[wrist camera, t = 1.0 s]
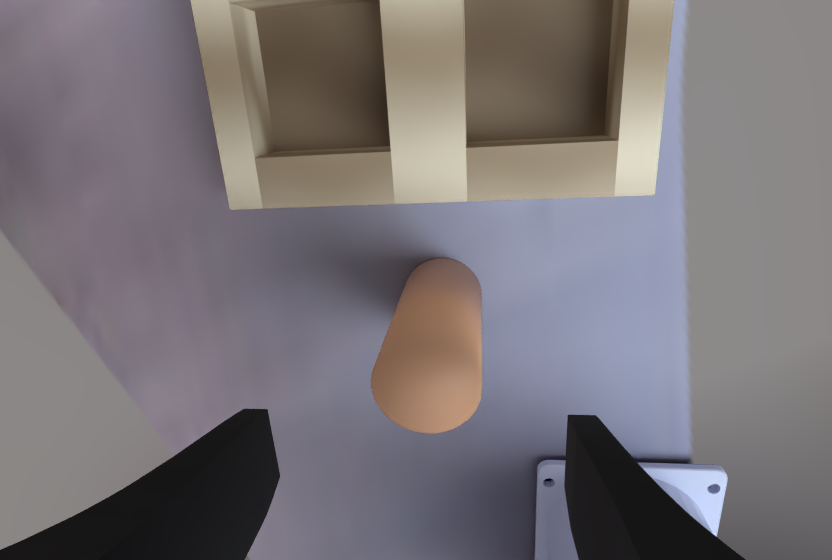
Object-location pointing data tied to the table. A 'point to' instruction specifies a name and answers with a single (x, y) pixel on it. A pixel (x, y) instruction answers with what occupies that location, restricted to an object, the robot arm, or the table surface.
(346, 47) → the bore block
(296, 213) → the table surface
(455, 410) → the dowel
